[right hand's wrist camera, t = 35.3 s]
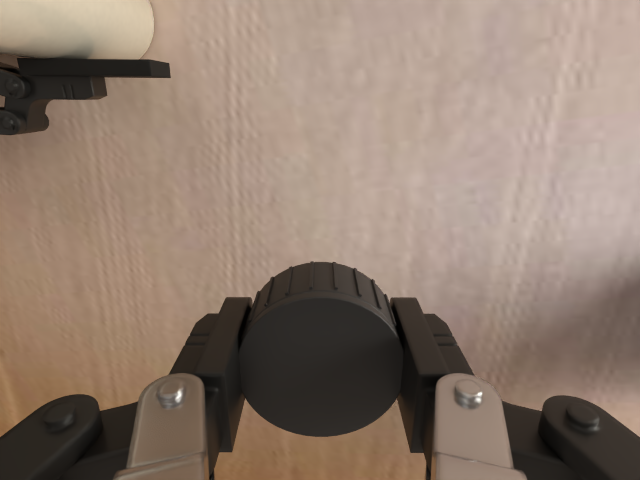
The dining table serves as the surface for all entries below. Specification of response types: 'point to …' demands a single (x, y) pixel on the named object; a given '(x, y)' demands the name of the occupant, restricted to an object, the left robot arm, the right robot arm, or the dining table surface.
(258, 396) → the cap
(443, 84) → the dining table surface
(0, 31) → the bottle
